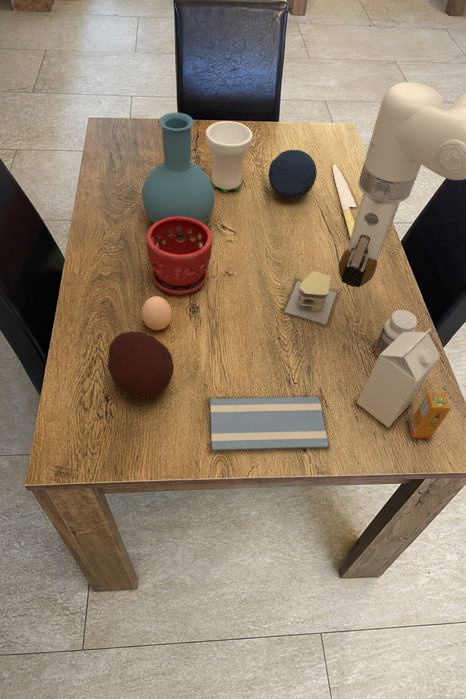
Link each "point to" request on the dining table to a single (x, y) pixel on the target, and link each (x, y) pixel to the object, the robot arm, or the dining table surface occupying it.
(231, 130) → the cup
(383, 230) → the robot arm
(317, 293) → the stacked layers on plate
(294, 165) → the decorative stone
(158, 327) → the egg
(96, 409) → the dining table surface
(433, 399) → the supplement box
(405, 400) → the milk carton
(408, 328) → the pill bottle
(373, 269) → the fruit
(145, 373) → the potato
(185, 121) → the vase
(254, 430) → the towel
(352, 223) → the knife
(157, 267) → the flower pot
